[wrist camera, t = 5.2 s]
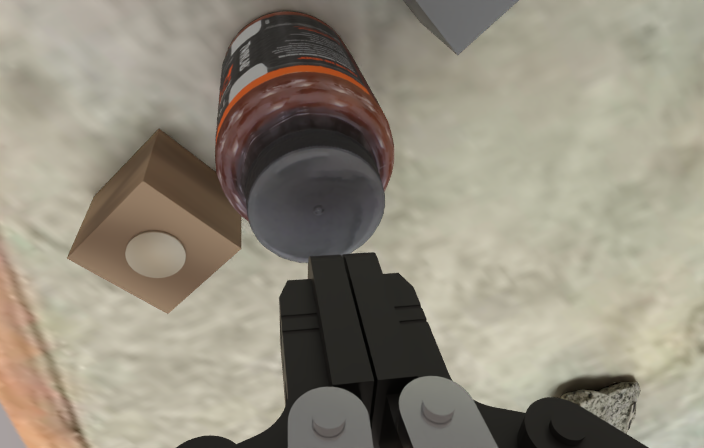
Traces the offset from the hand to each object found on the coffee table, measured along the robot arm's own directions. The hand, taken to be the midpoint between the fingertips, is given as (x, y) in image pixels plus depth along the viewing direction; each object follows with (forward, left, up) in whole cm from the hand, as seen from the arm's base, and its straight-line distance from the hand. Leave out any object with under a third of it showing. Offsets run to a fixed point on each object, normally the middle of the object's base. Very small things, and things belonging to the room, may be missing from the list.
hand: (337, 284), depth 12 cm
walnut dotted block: (+6, +6, -15) cm, 17 cm away
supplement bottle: (0, 0, -15) cm, 15 cm away
